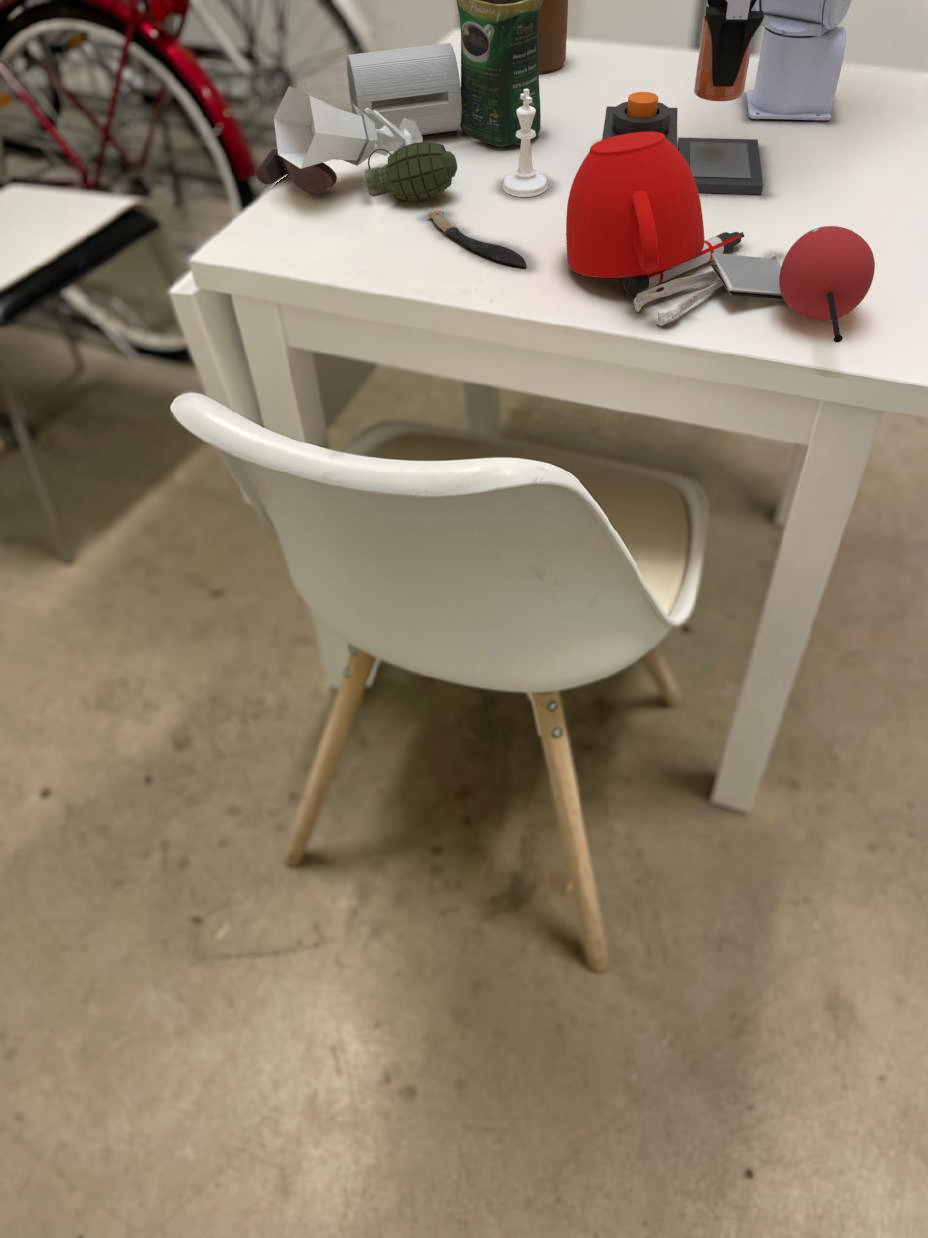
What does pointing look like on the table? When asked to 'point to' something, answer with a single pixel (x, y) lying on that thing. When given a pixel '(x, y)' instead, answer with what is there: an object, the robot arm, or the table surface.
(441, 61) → the grey rounded slotted piece
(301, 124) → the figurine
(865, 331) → the table surface
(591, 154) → the ceramic cup
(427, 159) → the grenade
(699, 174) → the tray
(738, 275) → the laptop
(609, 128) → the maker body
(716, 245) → the marker
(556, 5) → the mug
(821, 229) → the lollipop
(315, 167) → the heeled mule
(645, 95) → the button
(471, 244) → the machete
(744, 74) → the clay cup
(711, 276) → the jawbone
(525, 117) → the chess piece
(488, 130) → the coffee jar
